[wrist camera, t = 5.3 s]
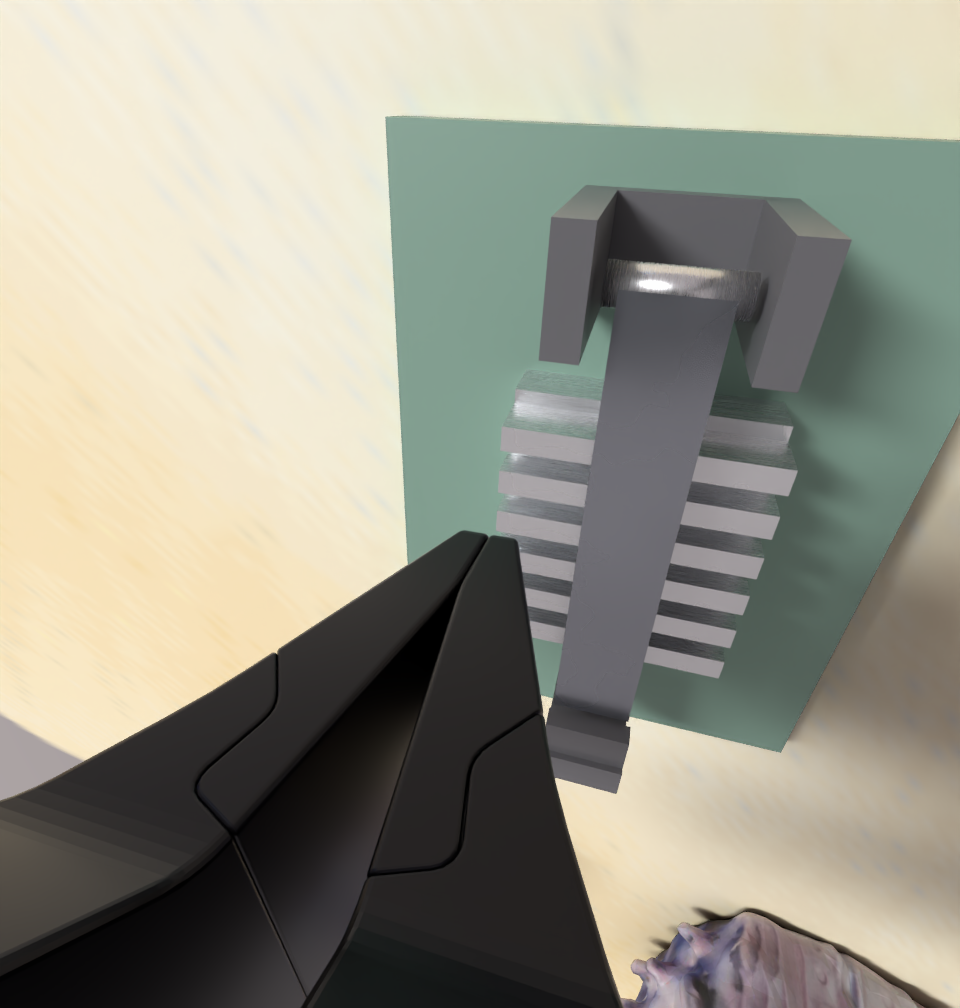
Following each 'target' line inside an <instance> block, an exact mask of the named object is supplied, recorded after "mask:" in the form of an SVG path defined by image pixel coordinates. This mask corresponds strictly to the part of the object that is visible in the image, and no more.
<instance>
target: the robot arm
mask: <svg viewBox="0 0 960 1008" xmlns="http://www.w3.org/2000/svg"><path fill="white" fill-rule="evenodd" d="M0 1008H624V1006H623V1004H622V1001H621V998H620V996H619V993H618V990H617V987H616V984H615V981H614V978H613V975H612V972H611V969H610V966H609V963H608V960H607V957H606V954H605V951H604V948H603V944H602V941H601V938H600V934H599V931H598V928H597V924H596V921H595V918H594V914H593V911H592V908H591V905H590V901H589V898H588V895H587V891H586V888H585V885H584V881H583V878H582V875H581V871H580V868H579V865H578V862H577V858H576V855H575V852H574V848H573V845H572V842H571V838H570V835H569V832H568V828H567V824H566V821H565V817H564V813H563V809H562V806H561V802H560V798H559V794H558V790H557V787H556V783H555V777H554V772H553V767H552V762H551V756H550V751H549V746H548V739H547V732H546V726H545V719H544V717H543V707H542V701H541V694H540V687H539V680H538V674H537V667H536V660H535V653H534V647H533V640H532V633H531V626H530V620H529V613H528V606H527V599H526V593H525V586H524V579H523V572H522V566H521V559H520V552H519V545H518V541H517V540H516V539H514V538H509V537H503V536H497V535H492V536H490V537H488V535H487V534H485V533H479V532H473V531H467V530H462V531H459V532H457V533H456V534H454V535H453V536H451V537H450V538H448V539H447V540H445V541H443V542H442V543H440V544H439V545H437V546H436V547H434V548H433V549H431V550H430V551H428V552H427V553H425V554H424V555H422V556H420V557H419V558H417V559H416V560H414V561H413V562H411V563H410V564H408V565H407V566H405V567H404V568H402V569H400V570H399V571H397V572H396V573H394V574H393V575H391V576H390V577H388V578H387V579H385V580H384V581H382V582H381V583H379V584H377V585H376V586H374V587H373V588H371V589H370V590H368V591H367V592H365V593H364V594H362V595H361V596H359V597H358V598H356V599H354V600H353V601H351V602H350V603H348V604H347V605H345V606H344V607H342V608H341V609H339V610H338V611H336V612H334V613H333V614H331V615H330V616H328V617H327V618H325V619H324V620H322V621H321V622H319V623H318V624H316V625H315V626H313V627H311V628H310V629H308V630H307V631H305V632H304V633H302V634H301V635H299V636H298V637H296V638H295V639H293V640H291V641H290V642H288V643H287V644H285V645H284V646H282V647H281V648H279V649H278V651H277V654H276V653H271V654H270V655H268V656H267V657H265V658H263V659H262V660H260V661H259V662H257V663H256V664H254V665H253V666H251V667H250V668H248V669H246V670H245V671H243V672H242V673H240V674H238V675H237V676H235V677H234V678H232V679H230V680H229V681H227V682H225V683H224V684H222V685H221V686H219V687H217V688H216V689H214V690H213V691H211V692H209V693H207V694H206V695H204V696H202V697H200V698H199V699H197V700H195V701H193V702H192V703H190V704H188V705H186V706H185V707H183V708H181V709H179V710H177V711H176V712H174V713H172V714H170V715H169V716H167V717H165V718H163V719H161V720H159V721H158V722H156V723H154V724H152V725H150V726H148V727H147V728H145V729H143V730H141V731H139V732H137V733H135V734H134V735H132V736H130V737H128V738H126V739H124V740H123V741H121V742H119V743H117V744H115V745H113V746H111V747H110V748H108V749H106V750H104V751H102V752H100V753H98V754H97V755H95V756H93V757H91V758H89V759H87V760H86V761H84V762H82V763H80V764H78V765H76V766H74V767H73V768H71V769H69V770H67V771H65V772H63V773H62V774H60V775H58V776H56V777H54V778H52V779H50V780H48V781H46V782H44V783H42V784H40V785H38V786H36V787H34V788H31V789H29V790H27V791H24V792H22V793H20V794H17V795H15V796H12V797H9V798H7V799H4V800H1V801H0Z"/></svg>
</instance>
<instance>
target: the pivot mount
mask: <svg viewBox="0 0 960 1008" xmlns="http://www.w3.org/2000/svg"><path fill="white" fill-rule="evenodd" d="M851 241H852V239H850V238H849V237H848V236H847V235H845V234H844V233H843V232H841V231H840V230H839V229H838V228H836V227H835V226H834V225H833V224H831V223H830V222H829V221H828V220H826V219H825V218H824V217H822V216H821V215H820V214H819V213H817V212H816V211H815V210H814V209H812V208H811V207H810V206H809V205H807V204H806V203H805V202H803V201H802V200H801V199H797V198H781V197H766V196H750V195H735V194H719V193H704V192H688V191H673V190H657V189H642V188H626V187H611V186H596V185H585V186H584V187H583V188H582V189H581V190H580V191H579V192H578V193H577V194H576V195H574V196H573V197H572V198H571V199H570V200H569V201H568V202H567V203H566V204H565V205H564V206H562V207H561V208H560V209H559V210H558V211H557V212H556V213H555V214H554V215H553V216H552V217H551V224H550V235H549V247H548V258H547V270H546V281H545V292H544V304H543V315H542V327H541V338H540V349H539V361H546V362H554V363H562V364H570V365H578V366H579V364H580V361H581V358H582V356H583V353H584V350H585V348H586V345H587V342H588V339H589V337H590V334H591V331H592V329H593V326H594V323H595V321H596V318H597V315H598V313H599V310H600V307H601V296H602V289H603V282H604V276H605V270H606V265H607V261H608V259H618V260H629V261H640V262H652V263H663V264H674V265H685V266H697V267H708V268H719V269H731V270H742V271H753V272H760V273H761V283H760V289H759V294H758V299H757V302H756V306H755V309H754V312H753V315H752V317H751V319H750V321H749V322H741V321H734V322H735V326H736V330H737V334H738V337H739V341H740V345H741V349H742V353H743V357H744V360H745V364H746V368H747V372H748V376H749V380H750V383H751V387H753V388H761V389H769V390H777V391H785V392H793V393H798V391H799V389H800V386H801V383H802V380H803V377H804V374H805V372H806V369H807V366H808V363H809V360H810V357H811V355H812V352H813V349H814V346H815V343H816V340H817V338H818V335H819V332H820V329H821V326H822V323H823V321H824V318H825V315H826V312H827V309H828V306H829V303H830V301H831V298H832V295H833V292H834V289H835V286H836V284H837V281H838V278H839V275H840V272H841V269H842V267H843V264H844V261H845V258H846V255H847V252H848V250H849V247H850V244H851Z"/></svg>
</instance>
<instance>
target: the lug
mask: <svg viewBox="0 0 960 1008" xmlns="http://www.w3.org/2000/svg"><path fill="white" fill-rule="evenodd" d="M558 673H559V672H558ZM557 679H558V677H557ZM556 685H557V681H556ZM555 692H556V686H555V691H554V696H553V701H552V705H551V708H549V713H548V718H547V722H546V732H547V739H548V746H549V751H550V756H551V762H552V767H553V772H554V777H555V778H559V779H563V780H566V781H570V782H574V783H578V784H581V785H585V786H589V787H593V788H596V789H600V790H604V791H608V792H611V793H615V794H616V793H617V790H618V786H619V783H620V779H621V776H622V768H623V764H624V761H625V757H626V754H627V750H628V746H629V738H630V727H627V726H626V721H623V720H619V719H615V718H611V717H606V716H602V715H598V714H594V713H590V712H586V711H582V710H577V709H573V708H569V707H565V706H561V705H557V704H554V698H555Z"/></svg>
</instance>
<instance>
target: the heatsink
mask: <svg viewBox="0 0 960 1008" xmlns="http://www.w3.org/2000/svg"><path fill="white" fill-rule="evenodd" d="M603 384H604V379H599V378H592V377H584V376H576V375H568V374H561V373H553V372H545V371H537V370H530V369H526V371H525V373H524V375H523V377H522V378H521V380H520V382H519V384H518V385H517V387H516V389H515V403H514V405H513V407H512V408H511V410H510V412H509V414H508V416H507V418H506V419H505V421H504V423H503V425H502V430H501V448H500V451H505V452H508V453H507V456H506V458H505V460H504V462H503V464H502V466H501V468H500V470H499V484H498V493H503V494H504V496H503V498H502V501H501V503H500V505H499V507H498V510H497V521H496V531H499V532H501V534H500V536H503V537H509V538H514V539H516V540H517V541H518V545H519V552H520V559H521V566H522V572H523V579H524V586H525V593H526V599H527V606H528V613H529V620H530V626H531V633H532V637H533V638H537V639H542V640H546V641H551V642H555V643H560V644H563V641H564V634H565V628H566V621H567V615H568V608H569V602H570V596H571V589H572V583H573V576H574V570H575V564H576V557H577V551H578V544H579V538H580V532H581V525H582V519H583V512H584V506H585V500H586V493H587V487H588V480H589V474H590V468H591V461H592V455H593V448H594V442H595V436H596V429H597V423H598V416H599V410H600V404H601V397H602V391H603ZM792 430H793V424H792V421H791V419H790V416H789V413H788V410H787V407H786V405H785V402H778V401H770V400H762V399H754V398H747V397H739V396H731V395H723V394H716V393H715V395H714V398H713V402H712V406H711V410H710V413H709V417H708V421H707V425H706V429H705V432H704V436H703V440H702V444H701V448H700V451H699V455H698V459H697V463H696V466H695V470H694V474H693V478H692V482H691V485H690V489H689V493H688V497H687V501H686V504H685V508H684V512H683V516H682V520H681V523H680V527H679V531H678V535H677V538H676V542H675V546H674V550H673V554H672V557H671V561H670V565H669V569H668V573H667V576H666V580H665V584H664V588H663V591H662V595H661V599H660V603H659V607H658V610H657V614H656V618H655V622H654V626H653V629H652V633H651V637H650V641H649V644H648V648H647V652H646V656H645V660H644V662H646V663H650V664H655V665H660V666H664V667H669V668H673V669H678V670H682V671H687V672H691V673H696V674H700V675H705V676H709V677H714V678H718V679H719V676H720V673H721V671H722V668H723V665H724V663H725V661H724V649H723V647H726V648H730V647H731V645H732V642H733V639H734V637H735V634H736V632H737V629H736V620H735V614H738V615H743V613H744V611H745V608H746V605H747V603H748V600H749V598H750V594H749V587H748V580H747V578H751V579H757V577H758V574H759V571H760V569H761V566H762V564H763V561H764V554H763V549H762V543H761V538H763V539H769V540H772V538H773V535H774V532H775V530H776V527H777V524H778V522H779V519H780V514H779V510H778V506H777V502H776V498H775V494H776V495H783V496H789V493H790V491H791V488H792V485H793V483H794V480H795V477H796V475H797V472H798V469H797V466H796V463H795V460H794V457H793V454H792V451H791V448H790V445H789V442H788V441H789V438H790V435H791V432H792Z"/></svg>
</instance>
